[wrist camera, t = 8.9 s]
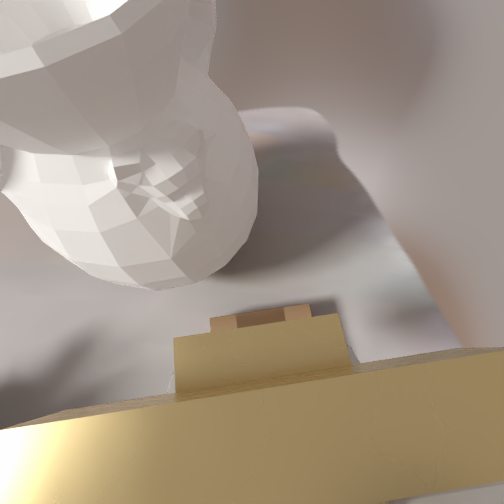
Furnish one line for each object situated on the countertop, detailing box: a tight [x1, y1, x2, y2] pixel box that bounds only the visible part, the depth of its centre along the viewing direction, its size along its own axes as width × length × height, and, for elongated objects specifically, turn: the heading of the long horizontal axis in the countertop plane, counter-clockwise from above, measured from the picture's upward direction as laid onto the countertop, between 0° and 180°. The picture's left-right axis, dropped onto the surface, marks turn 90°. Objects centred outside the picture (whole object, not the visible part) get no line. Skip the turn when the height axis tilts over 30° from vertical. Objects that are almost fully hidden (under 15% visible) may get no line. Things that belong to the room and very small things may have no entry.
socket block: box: [210, 303, 312, 332], centre depth 26 cm, size 10×10×3 cm
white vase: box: [0, 0, 259, 291], centre depth 21 cm, size 19×18×25 cm
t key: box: [0, 313, 504, 504], centre depth 10 cm, size 4×8×14 cm, turn 98°
